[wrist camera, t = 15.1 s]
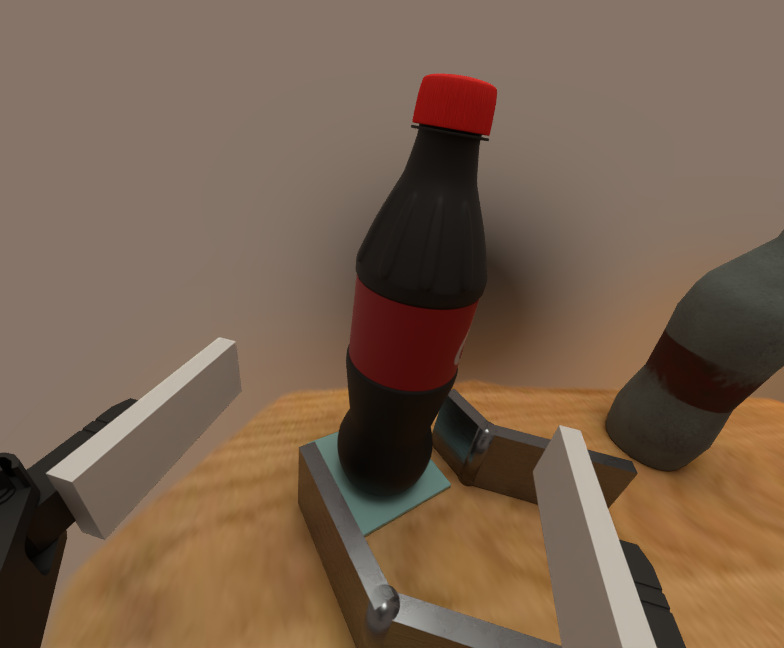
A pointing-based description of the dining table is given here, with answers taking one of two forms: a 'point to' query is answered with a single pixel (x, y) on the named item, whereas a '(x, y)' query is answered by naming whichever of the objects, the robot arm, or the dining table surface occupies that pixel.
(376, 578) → the channel
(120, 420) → the robot arm
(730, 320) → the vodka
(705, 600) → the dining table surface
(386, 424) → the cola bottle
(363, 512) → the tile
